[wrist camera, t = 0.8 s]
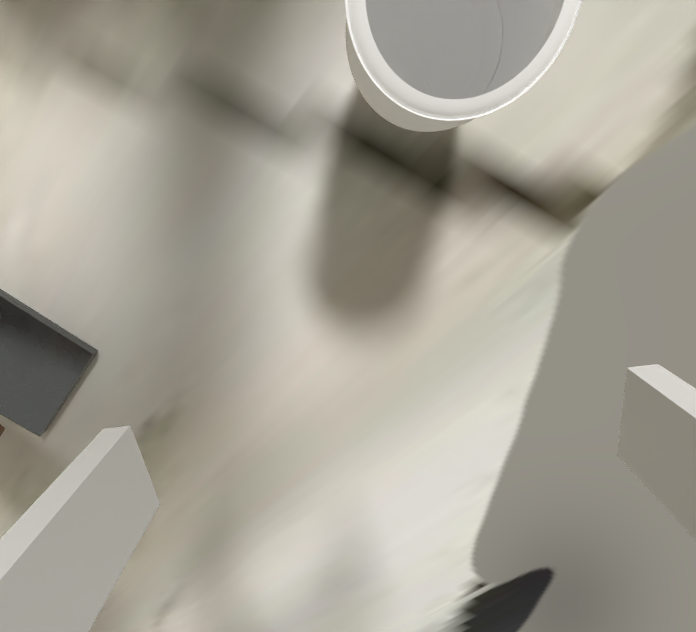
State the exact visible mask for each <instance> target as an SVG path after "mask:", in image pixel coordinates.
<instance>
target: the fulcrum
mask: <svg viewBox="0 0 696 632" xmlns="http://www.w3.org/2000/svg"><path fill="white" fill-rule="evenodd" d="M97 352H98V351H97V350H96V349H94V348H93V347H91V346H89V345H88V344H86V343H85V342H83V341H82V340H80V339H78V338H77V337H75V336H74V335H72V334H70V333H69V332H67V331H66V330H64V329H63V328H61V327H59V326H58V325H56V324H55V323H53V322H52V321H50V320H48V319H47V318H45V317H44V316H42V315H40V314H39V313H37V312H36V311H34V310H33V309H31V308H29V307H28V306H26V305H25V304H23V303H22V302H20V301H18V300H17V299H15V298H14V297H12V296H10V295H9V294H7V293H6V292H4V291H3V290H1V289H0V414H1V415H3V416H5V417H7V418H8V419H10V420H12V421H14V422H15V423H17V424H19V425H21V426H23V427H24V428H26V429H28V430H30V431H31V432H33V433H35V434H37V435H38V436H41V435H42V434H43V433H44V432H45V431H46V429H47V428H48V426H49V425H50V423H51V422H52V420H53V419H54V417H55V416H56V414H57V413H58V411H59V410H60V408H61V407H62V405H63V403H64V402H65V400H66V399H67V397H68V396H69V394H70V393H71V391H72V390H73V388H74V387H75V385H76V384H77V382H78V381H79V379H80V378H81V376H82V374H83V373H84V371H85V370H86V368H87V367H88V365H89V364H90V362H91V361H92V359H93V358H94V356H95V355H96V353H97Z"/></svg>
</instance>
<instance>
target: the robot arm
mask: <svg viewBox="0 0 696 632" xmlns="http://www.w3.org/2000/svg"><path fill="white" fill-rule="evenodd" d="M617 456H618V457H619V458H620V459H621V460H622V462H623V463H625V465H626V466H627V467H628V468H629V469H630V470H631V471H632V472H633V474H634V475H636V477H637V478H638V479H639V480H640V481H641V482H642V483H643V484H644V486H645V487H646V488H647V489H648V490H649V491H650V492H651V493H652V494H653V495H654V496H655V497H656V499H657V500H658V501H659V502H660V503H661V504H662V505H663V506H664V507H665V508H666V509H667V511H668V512H669V513H670V514H671V515H672V516H673V517H674V518H675V519H676V520H677V522H678V523H679V524H680V525H681V526H682V527H683V528H684V529H685V530H686V531H687V532H688V533H689V535H690V536H691V537H692V538H693V539H694V540H695V541H696V389H695V388H694V387H692V386H691V385H689V384H688V383H686V382H685V381H683V380H681V379H680V378H678V377H677V376H675V375H674V374H672V373H671V372H669V371H667V370H666V369H664V368H663V367H661V366H659V365H658V364H656V365H647V366H639V367H630V368H627V373H626V381H625V390H624V399H623V408H622V417H621V426H620V435H619V444H618V454H617ZM159 505H160V502H159V499H158V497H157V494H156V491H155V489H154V486H153V484H152V481H151V478H150V476H149V473H148V470H147V468H146V465H145V462H144V460H143V457H142V455H141V452H140V449H139V447H138V444H137V441H136V439H135V436H134V434H133V431H132V428H131V426H121V427H113V428H104V429H102V431H101V432H100V433H99V434H98V435H97V436H96V437H95V438H94V439H93V440H92V441H91V442H90V443H89V444H88V446H87V447H86V448H85V449H84V450H83V451H82V452H81V453H80V454H79V455H78V456H77V457H76V458H75V459H74V460H73V462H72V463H71V464H70V465H69V466H68V467H67V468H66V469H65V470H64V471H63V472H62V473H61V474H60V475H59V477H58V478H57V479H56V480H55V481H54V482H53V483H52V484H51V485H50V486H49V487H48V488H47V489H46V490H45V492H44V493H43V494H42V495H41V496H40V497H39V498H38V499H37V500H36V501H35V502H34V503H33V504H32V505H31V506H30V508H29V509H28V510H27V511H26V512H25V513H24V514H23V515H22V516H21V517H20V518H19V519H18V520H17V521H16V523H15V524H14V525H13V526H12V527H11V528H10V529H9V530H8V531H7V532H6V533H5V534H4V535H3V536H2V538H1V539H0V632H89V630H90V628H91V627H92V625H93V623H94V621H95V620H96V618H97V616H98V614H99V612H100V611H101V609H102V607H103V605H104V603H105V602H106V600H107V598H108V596H109V595H110V593H111V591H112V589H113V587H114V586H115V584H116V582H117V580H118V578H119V577H120V575H121V573H122V571H123V570H124V568H125V566H126V564H127V562H128V561H129V559H130V557H131V555H132V553H133V552H134V550H135V548H136V546H137V544H138V543H139V541H140V539H141V537H142V536H143V534H144V532H145V530H146V528H147V527H148V525H149V523H150V521H151V519H152V518H153V516H154V514H155V512H156V511H157V509H158V507H159Z"/></svg>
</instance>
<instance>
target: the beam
mask: <svg viewBox="0 0 696 632" xmlns="http://www.w3.org/2000/svg"><path fill="white" fill-rule="evenodd" d="M4 430H5V428H4V427H3V426H2V425H0V436H1V434H2V433H3V431H4Z"/></svg>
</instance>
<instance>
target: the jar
mask: <svg viewBox="0 0 696 632" xmlns="http://www.w3.org/2000/svg"><path fill="white" fill-rule="evenodd" d="M581 2H582V0H345V9H346V48H347V55H348V61H349V65H350V69H351V72H352V75H353V78H354V80H355V83H356V85H357V87H358V89H359V91H360V92H361V94H362V96H363V97H364V99H365V100H366V102H367V103H368V104H369V105H370V106H371V108H372V109H373V110H374V111H375V112H376V113H378V114H379V115H380V116H381V117H382V118H384V119H385V120H387V121H388V122H390V123H392V124H394V125H396V126H398V127H401V128H404V129H407V130H412V131H418V132H436V131H443V130H447V129H451V128H455V127H458V126H460V125H463V124H465V123H467V122H469V121H471V120H473V119H475V118H477V117H480V116H483V115H486V114H489V113H491V112H494V111H496V110H498V109H500V108H502V107H504V106H506V105H508V104H509V103H511V102H512V101H514V100H516V99H517V98H518V97H520V96H521V95H522V94H524V93H525V92H526V91H527V90H528V89H530V88H531V87H532V86H533V85H534V84H535V83H536V82H537V81H538V80H539V79H540V78H541V77H542V76H543V75H544V73H545V72H546V71H547V70H548V69H549V67H550V66H551V65H552V63H553V62H554V61H555V59H556V58H557V56H558V55H559V53H560V51H561V50H562V48H563V46H564V45H565V43H566V41H567V39H568V37H569V35H570V33H571V31H572V28H573V26H574V23H575V21H576V18H577V15H578V12H579V9H580V6H581Z"/></svg>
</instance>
